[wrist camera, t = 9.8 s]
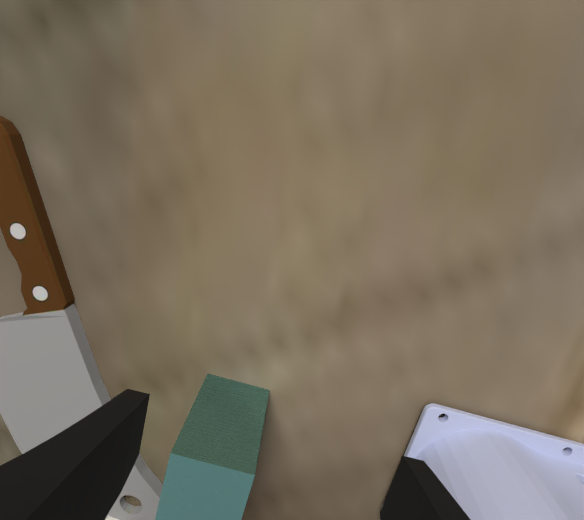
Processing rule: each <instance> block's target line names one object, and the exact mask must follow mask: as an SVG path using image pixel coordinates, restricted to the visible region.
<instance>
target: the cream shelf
mask: <svg viewBox="0 0 584 520" xmlns="http://www.w3.org/2000/svg"><path fill="white" fill-rule="evenodd" d="M106 520H118V519H116V518H113V517H110V516H107V518H106Z"/></svg>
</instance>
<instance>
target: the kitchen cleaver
mask: <svg viewBox="0 0 584 520" xmlns="http://www.w3.org/2000/svg"><path fill="white" fill-rule="evenodd" d="M0 227H1V230H2V233H3V235H4V238H5V241H6V243H7V246H8V248H9V250H10V251H11V253H12V255H13V256H14V258H15V259H16V261H17V263H18V266H19V268H20V271H21V274H22V283H21V292H22V295H23V297H24V300H25V303H26V305H27V308H28V309H27V310H25V311H24V312H22V313H17V314H12V315H8V316H3V317H0V413H1V415H2V417H3V419H4V421H5V423H6V425H7V427H8V429H9V431H10V433H11V435H12V437H13V439H14V441H15V442H16V444H17V446H18V448H19V449H20V451H21V453H22V454H24V453H25V452H27V451H29V450H31V449H32V448H34V447H36V446H38V445H39V444H41V443H43V442H45V441H47V440H48V439H50V438H52V437H54V436H55V435H57V434H59V433H60V432H62V431H63V430H65V429H67V428H68V427H70V426H71V425H73V424H75V423H76V422H78V421H79V420H81V419H83V418H84V417H86V416H87V415H89V414H90V413H92V412H93V411H95V410H96V409H98V408H99V407H101V406H102V405H104V404H105V403H107V402H108V401H110V400H111V398H110V396H109V394H108V392H107V390H106V387H105V385H104V383H103V381H102V379H101V376H100V373H99V370H98V368H97V365H96V362H95V359H94V356H93V354H92V351H91V348H90V345H89V343H88V340H87V337H86V334H85V332H84V329H83V326H82V323H81V321H80V318H79V315H78V312H77V310H76V307H75V305H74V299H75V298H74V295H73V292H72V289H71V286H70V283H69V280H68V277H67V274H66V271H65V268H64V265H63V262H62V259H61V255H60V252H59V249H58V246H57V243H56V240H55V237H54V234H53V231H52V228H51V225H50V222H49V219H48V216H47V213H46V210H45V207H44V204H43V201H42V198H41V195H40V192H39V189H38V186H37V183H36V180H35V177H34V174H33V171H32V168H31V165H30V162H29V159H28V156H27V153H26V150H25V147H24V144H23V141H22V138H21V135H20V134H19V132H18V131H17V129H16V128H15V126H14V125H13V123H12V122H11V121H9V120H7V119H6V118H4V117H2V116H0ZM162 487H163V484H162V483H161V482H160V480H159V479H158V478H157V477H156V476H155V474H154V473H153V472H152V471H151V470H150V469H149V467H148V466H147V465H146V463H145V461H144V460H143V458H142V456H141V455H140V453H139V455H138V458H137V460H136V462H135V464H134V466H133V468H132V470H131V473H130V475H129V477H128V479H127V481H126V483H125V485H124V487H123V489H122V491H121V493H120V495H119V496H118V498H117V500H116V501H115V503H114V505H113V506H112V508H111V510H110V511H109V513H108V515H107V516H110V517H113V518H116V519H118V520H155V517H156V513H157V509H158V504H159V500H160V496H161V492H162ZM125 495H131V496H134V497H136V498H137V499H138V500H139V501H140V502H141V504H142V505H141V506H133V505H131V504H129V503H128V502H127V501H126V500H125V498H124V496H125ZM107 516H106V518H107ZM106 518H105V520H106Z"/></svg>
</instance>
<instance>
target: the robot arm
mask: <svg viewBox="0 0 584 520" xmlns="http://www.w3.org/2000/svg"><path fill="white" fill-rule="evenodd" d="M149 395H150V394H147V393H142V392H138V391H134V390H130V389H127V390H125V391H123V392H122V393H120V394H119V395H117V396H116V397H114V398H113V399H111V400H110V401H108V402H107V403H105V404H104V405H102V406H101V407H99V408H98V409H96V410H95V411H93V412H92V413H90V414H89V415H87V416H86V417H84V418H83V419H81V420H79V421H78V422H76V423H75V424H73V425H71V426H70V427H68V428H67V429H65V430H63V431H62V432H60V433H59V434H57V435H55V436H54V437H52V438H50V439H48V440H47V441H45V442H43V443H41V444H39V445H38V446H36V447H34V448H32V449H31V450H29V451H27V452H25V453H24V454H22V455H20V456H18V457H16V458H14V459H12V460H11V461H9V462H7V463H5V464H3V465H1V466H0V520H105V518H106V516H107V515H108V513H109V511H110V510H111V508H112V506H113V505H114V503H115V501H116V500H117V498H118V496H119V495H120V493H121V491H122V489H123V487H124V485H125V483H126V481H127V479H128V477H129V475H130V473H131V470H132V468H133V466H134V464H135V462H136V460H137V458H138V455H139V451H140V445H141V440H142V434H143V428H144V423H145V417H146V412H147V406H148V401H149ZM440 414H445V416H444V417H442V418H441V417H438V416H439V415H440ZM564 448H566V449H565V450H563V449H564ZM380 516H381V520H584V444H582V443H579V442H575V441H571V440H567V439H564V438H560V437H556V436H553V435H549V434H545V433H542V432H538V431H534V430H531V429H527V428H523V427H520V426H516V425H512V424H508V423H505V422H501V421H497V420H494V419H490V418H486V417H483V416H479V415H475V414H472V413H468V412H464V411H461V410H457V409H453V408H449V407H446V406H442V405H438V404H433V403H431V404H428V405H426V406H425V407H424V409H423V411H422V414H421V416H420V418H419V421H418V423H417V425H416V428H415V430H414V433H413V435H412V437H411V440H410V442H409V444H408V447H407V449H406V452H405V454H404V456H402V458H401V461H400V464H399V466H398V469H397V471H396V474H395V476H394V479H393V481H392V484H391V486H390V489H389V492H388V494H387V497H386V499H385V501H384V504H383V506H382V509H381V512H380Z"/></svg>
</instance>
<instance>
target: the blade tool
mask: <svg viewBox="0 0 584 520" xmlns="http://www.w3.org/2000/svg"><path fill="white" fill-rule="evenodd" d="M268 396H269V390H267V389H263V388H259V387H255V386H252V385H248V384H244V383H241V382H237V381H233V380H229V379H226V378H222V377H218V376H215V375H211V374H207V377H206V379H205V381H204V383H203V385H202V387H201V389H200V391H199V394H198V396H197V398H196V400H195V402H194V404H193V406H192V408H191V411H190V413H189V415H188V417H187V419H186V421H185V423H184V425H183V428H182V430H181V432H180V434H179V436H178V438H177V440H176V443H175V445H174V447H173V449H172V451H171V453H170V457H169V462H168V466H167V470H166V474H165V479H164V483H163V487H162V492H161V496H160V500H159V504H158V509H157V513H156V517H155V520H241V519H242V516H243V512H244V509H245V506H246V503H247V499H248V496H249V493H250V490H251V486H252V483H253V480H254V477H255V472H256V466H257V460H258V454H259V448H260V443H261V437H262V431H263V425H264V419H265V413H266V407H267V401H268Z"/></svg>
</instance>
